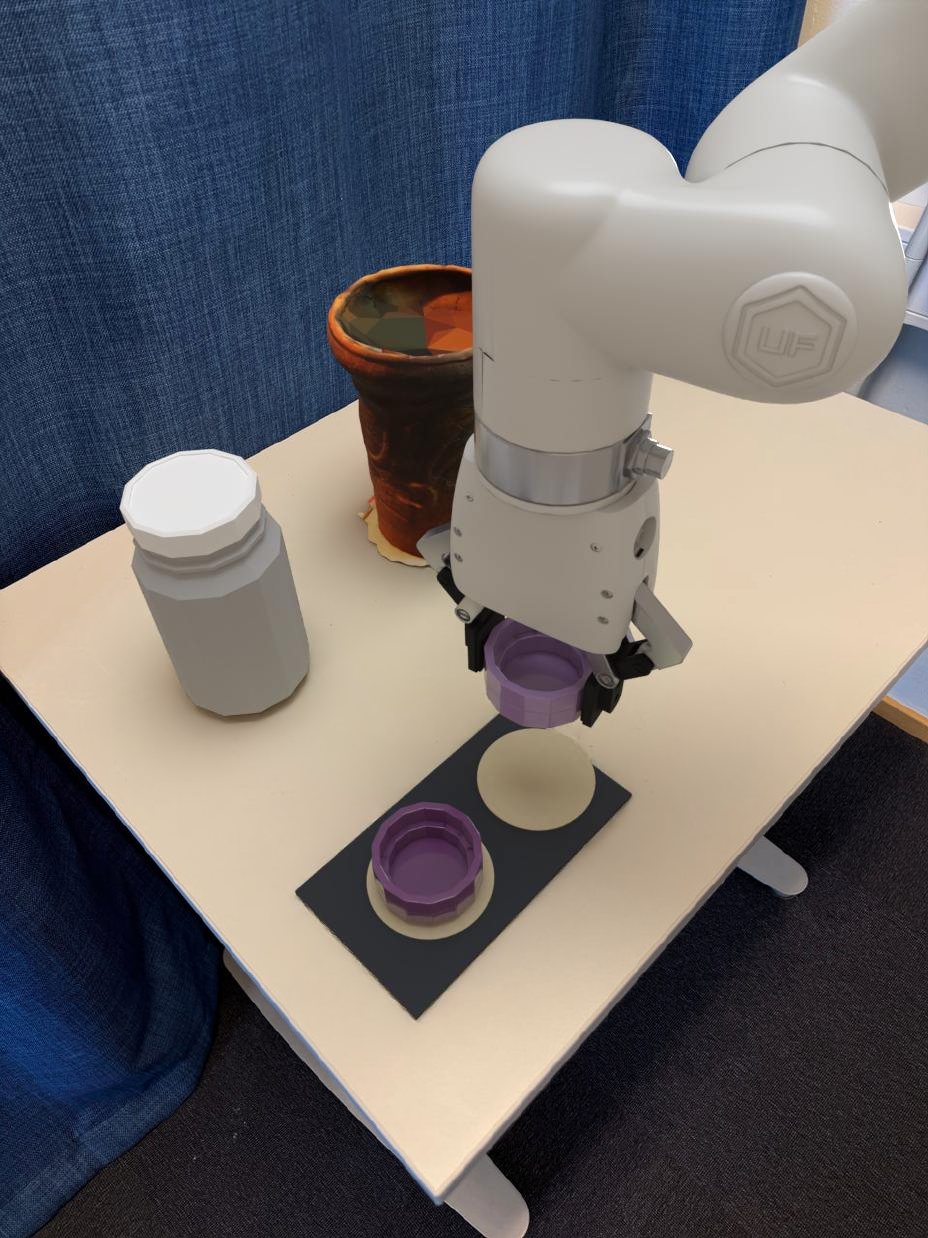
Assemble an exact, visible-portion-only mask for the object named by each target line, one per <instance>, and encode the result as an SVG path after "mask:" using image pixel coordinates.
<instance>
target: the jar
mask: <svg viewBox="0 0 928 1238" xmlns="http://www.w3.org/2000/svg"><path fill="white" fill-rule="evenodd" d="M261 489H262V488H261V486H260V481H259V476H258V474H257V472H256V471H255V470H254V469H253V468H252V467H251V465H249V463H247V461H246V460H245V459H244V458H243V457H242V456H239V455H237V454H233V453H229V452H225V451H222V450H219V449H215V448H207V449H194V450H183V451H177V452H175V453H172V454H169V455H167V456H165V457H162V458H160V459H157V460H155V461H153V462H150V463H147V464H146V465H145V466H144V467H143V468H141V470H139V471H138V472H137V473H136V474H135V475H134V476H133V477H132V478H131V479H130V480H129V481H128V482H127V483H126V484H125V485H124V488H123V491H122V496H121V501H120V505H119V510H120V512H121V516H122V517H123V520H124V522H125V525H126V527H127V529H128V531H129V532H130V534H131V535H132V537H133V538H132V543H133V546H134V550H133V556H132V559H131V560H132V561H131V564H130V567H131V569H132V572H133V574H134V577H135V579H136V581H137V584H138V587H139V589H140V590H141V593H142V595H143V598H144V600H145V602H146V604H147V608H148V609H149V611H150V614H151V617H152V619H153V621H154V623H155V626H156V629H157V631H158V634H159V636H160V638H161V640H162V643H163V645H164V648H165V650H166V652H167V655H168V657H169V660H170V662H171V665H172V667H173V669H174V671H175V674H176V676H177V679H178V680H179V683H180V684H181V686H182V688H183V689H184V690H185V692H186V694H187V695H188V697H189V698H190V700H191V702H192V703H193V705H195V706H196V707H197V706H198V707H200V708H202V709H205V710H208V711H211V712H212V713H215V714H218V715H220V716H223V717H224V716H225V717H226V716H228V717H229V716H238V715H240V716H241V715H249V714H260V713H262V712H264V711H266V710H267V709H269V708H271V707H273V706H275V705H277V704H278V703H280V702H282V701H284V700H286V699H287V698H289V697H290V696H291V695H292V694H293V693H294V691H295V690H296V688H297V687H298V686H299V684H300V683H301V682H302V680H303V679H304V677H305V676H306V675H307V673H308V672H309V666H310V665H309V663H310V662H309V661H310V660H309V659H310V658H309V656H310V643H309V639H308V635H307V631H306V626H305V622H304V617H303V614H302V610H301V605H300V602H299V601H300V600H299V597H298V592H297V588H296V585H295V581H294V576H293V572H292V568H291V563H290V559H289V555H288V550H287V546H286V543H285V538H284V534H283V530H282V526H281V525H280V524H279V522H278V521H276V519H275V518H274V517H273V516H272V514H271V513H270V512H269V511H268V510H267V507H266V506H265V505H264V503H263V502H262V499H263V494H262V490H261Z"/></svg>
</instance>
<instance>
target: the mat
mask: <svg viewBox="0 0 928 1238" xmlns="http://www.w3.org/2000/svg"><path fill="white" fill-rule="evenodd" d="M632 797H633V793H631V792H630V791H629V790H628V789H626V787H624V786H622V785H621V784H620V783H618V781H616V780H614V779H613V778H612V777H610V775H608V774H606V773H605V772H604V771H602V770H601V769H600V768H598V767H597V766H596V765H595V764H593V763H592V762H591V759H590V758H589V756H588V754H587V753H586V752H585V751H584V749H583V748H582V747H581V746H580V745H579V744H578V743H576V741H574V740H572V739H571V738H570V737H568V736H566V735H564V734H562V733H561V732H557V731H553V730H551V729H544V728H535V727H525V726H521V725H519V724H517V723H515V722H514V721H512V720H510V719H508V718H506V717H504V716H502V715H501V714H500V713H499V712H498V714H496V715H495V716H494V717H493V718H492V719H491V720H489V722H487V723H485V725H484V726H482V727H481V728H480V729H479V730H478V731H477V732H476V733H475V734H474V735H472V736H471V737H470V738H469V739H468V740H466V742H464V743H463V744H462V745H461V746H460V747H459V748H457V749H456V750H455V751H454V752H453V753H452V754H450V755H449V756H448V757H447V758H446V759H445V760H443V762H441V763H440V764H439V765H437V767H436V768H434V769H433V770H432V771H431V772H430V773H429V774H427V775H426V776H425V777H424V778H423V779H422V780H420V781H419V782H418V783H417V784H416V785H414V787H412V788H411V789H410V790H409V791H408V792H407V793H406V794H405V795H403V796H402V797H400V799H399V800H398V801H396V802H395V803H394V804H393V805H392V806H390V807H389V808H388V809H387V810H386V811H385V812H384V813H383V814H381V815H380V816H379V817H378V818H377V819H376V820H375V821H373V822H372V823H371V824H370V825H369V826H368V827H366V828H365V829H364V830H363V831H362V832H361V833H360V834H359V835H357V836H356V837H355V838H354V839H353V840H351V841H350V842H349V843H348V844H347V845H346V846H345V847H343V848H342V849H341V850H340V851H339V852H338V853H337V854H335V855H334V856H333V857H332V858H331V859H330V860H328V861H327V862H326V863H325V864H324V865H323V866H322V867H320V868H319V869H318V870H317V871H315V873H313V874H312V875H311V876H310V877H309V878H308V879H306V881H304V882H303V883H302V884H301V885H299V886H298V887H297V888H296V889H295V890H294V893H295V895H296V896H297V897H298V898H299V899H300V900H301V901H302V902H303V903H304V905H305V906H306V907H308V909H309V910H311V911H312V913H313V914H314V915H315V916H316V917H317V918H318V919H319V920H320V921H321V922H322V923H323V924H324V925H325V926H326V928H327V929H328V930H330V932H332V934H333V935H334V936H335V937H336V938H337V939H338V940H339V941H340V942H341V944H343V945H344V946H345V947H346V948H347V949H348V950H349V951H350V953H351V954H353V955H354V957H355V958H356V959H357V960H358V961H359V962H360V963H361V964H362V965H363V966H364V968H366V970H368V971H369V972H370V973H371V974H372V976H373V977H374V978H375V979H376V980H377V981H378V982H379V983H380V984H381V985H382V986H383V987H384V988H385V989H386V991H388V992H389V993H390V994H391V995H392V996H393V997H394V998H395V1000H396V1001H397V1002H398V1003H399V1004H400V1005H401V1006H402V1007H403V1008H404V1009H405V1010H406V1011H407V1012H408V1013H409V1015H411V1016H412V1017H413V1019H415V1021H416V1020H418V1019H419V1018H420V1017H421V1016H422V1015H423V1014H424V1013H425V1012H426V1011H427V1010H428V1009H429V1008H430V1007H431V1006H432V1005H433V1003H435V1002H436V1001H437V1000H438V998H439V997H440V996H442V994H443V993H444V992H445V991H447V989H448V988H449V987H450V986H451V985H452V984H453V983H454V982H455V981H456V980H457V979H458V978H459V977H460V976H461V975H462V973H463V972H464V971H465V970H466V969H468V967H470V965H471V964H472V963H473V962H474V961H475V960H476V959H477V958H478V957H479V956H480V955H481V954H482V953H483V952H484V951H485V950H486V949H487V947H489V946H490V945H491V943H492V942H494V941H495V939H497V937H498V936H499V935H500V934H501V933H502V932H503V931H504V930H505V929H506V928H507V927H508V926H509V925H510V924H511V923H512V922H513V921H514V920H515V919H516V918H517V917H518V916H519V915H520V914H521V912H523V910H524V909H525V908H526V907H527V906H528V905H529V904H530V903H531V902H532V901H533V900H534V899H535V898H536V897H537V896H538V895H539V894H540V893H541V892H542V891H543V889H544V888H546V886H548V885H549V883H551V881H552V880H553V879H554V878H555V877H556V876H557V875H558V874H559V873H560V872H561V871H562V870H563V869H564V868H565V867H566V866H567V865H568V864H569V862H571V861H572V860H573V858H575V856H576V855H578V854H579V852H580V851H581V850H582V849H583V848H584V847H585V846H586V845H587V844H588V843H589V842H590V841H591V840H592V839H593V838H594V837H595V836H596V835H597V834H598V833H599V832H600V831H601V829H602V828H603V827H605V826H606V824H607V823H608V822H609V821H610V820H611V819H612V818H613V817H614V816H615V815H616V814H617V813H618V812H619V811H620V810H621V809H622V808H623V807H624V806H625V805H626V804H627V803H628V802H629V800H630V799H631V798H632ZM421 802H432V803H441V804H447V805H450V806H451V807H453V808H455V809H457V810H458V811H460V812H462V813H464V814H465V815H467V816H468V817H469V819H470V820H471V822H472V823H473V824H474V826H475V827H476V829H477V830H478V832H479V833H480V836H481V844H482V854H483V881H482V883H481V886H480V889H479V891H478V894H477V896H476V899H475V900H474V902H473V903H472V904H471V905H469V906H468V907H467V908H466V909H465V910H464V911H463V912H462V913H461V914H460V915H459V916H457V917H456V918H453V919H450V920H447V921H444V922H440V923H437V924H434V925H433V924H432V925H430V924H422V923H414V922H408V921H406V920H404V919H403V918H401V917H400V916H398V915H397V914H395V913H394V912H392V911H391V910H389V909H388V908H387V906H386V904H385V903H384V901H383V899H382V897H381V895H380V894H379V892H378V890H377V887H376V882H375V877H374V873H373V869H372V843H373V841H374V839H375V837H376V835H377V833H378V831H379V829H380V826H381V824H382V823H383V822H384V821H386V820H387V819H388V818H389V817H391V816H392V815H393V814H394V813H395V812H397V811H398V810H399V809H401V808H404V807H407V806H410V805H414V804H417V803H421Z"/></svg>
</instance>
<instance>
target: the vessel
mask: <svg viewBox="0 0 928 1238" xmlns="http://www.w3.org/2000/svg"><path fill="white" fill-rule="evenodd" d="M327 318H328V319H327V326H326V336H327V341H328V344H329V348H330V350H331V353H332V355H333V357H334V359H335V360H336V361H337V363H338V364H339V366H340V367H342V369H344V370H345V372H346V373H347V374H349V375H350V379H351V381H352V384H353V387H354V388H355V390H356V391H357V394H358V420H359V423H360V430H361V435H362V440H363V444H364V447H365V451H366V457H367V463H368V464H367V465H368V471H369V477H370V481H371V483H372V487H373V488H372V489H373V495H372V496H371V497H370V498H369V499H368V501H367V504H369V505H370V506H369V508H368V509H367V510H366V511H365V512H361V511H358V513H357V516H359V517H360V518H361V519H362V521H364V522H365V523H366V524H367V540H368V541H369V542H371V543H374V544H375V545H376V550H377V551H378V552H379V555H381V556H383V557H384V558H387V560H389V561H390V562H401V563H403V564H406V565H407V566H417V567H425V566H430V565H429V564H428V562H427V561H426V560H425V558H424V557H423V556H422V554H421V553H420V552H419V550H418V549H417V546H416V544H417V542H418V541H419V540H420V539H421V538H422V537H423V536H424V535H425V533H426V532H427V531H428V530H430V529H431V528H434V527H437V526H440V525H442V524H445V523H448V522H450V521H451V518H452V508H453V500H454V494H455V487H456V482H457V477H458V473H459V469H460V464H461V460H462V457H463V453H464V450H465V446H466V444H467V441H468V440H469V438H470V437H471V435H472V434H473V433H474V399H473V313H472V268H469V267H463V266H459V265H454V264H430V263H422V264H410V265H400V266H394V267H390V268H385V269H384V268H383V269H381V270H380V271H377V272H376V273H373V274H366V275H365V276H363V277H360V278H359V279H358V280H356V281H355V282H353V284H351V285H350V286H349V287H348V288H346V290H344V291H343V292H341V293H340V294H338V295H337V296H336V297H335V298H334V301H333V302H332V304H331V307H330V309H329V310H328V316H327Z"/></svg>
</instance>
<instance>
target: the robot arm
mask: <svg viewBox="0 0 928 1238" xmlns="http://www.w3.org/2000/svg"><path fill="white" fill-rule="evenodd" d="M927 183H928V0H862V1H861V2H859V3H858V4H856V5H855V6H853V7H852V8H850V9H849V10H848V11H846V12H845V13H844V14H842V15H841V16H840V17H838V18H837V19H836V20H834V21H833V22H832V23H830V24H829V25H827V26H826V27H825V28H823V29H822V30H821V31H819V32H818V33H817V34H815V35H814V36H813V37H811V38H809V40H807V41H806V42H804V43H803V44H802V45H800V46H799V47H798V48H796V49H795V50H793V51H792V52H791V53H789V54H787V56H785V57H784V58H783V59H781V60H779V62H777V63H776V64H775V65H773V66H772V67H770V68H769V69H768V70H766V71H765V72H764V73H762V74H761V75H760V76H758V77H757V78H756V79H755V80H754V81H752V82H751V83H749V85H747V86H746V87H745V88H744V89H743V90H742V91H740V93H738V94H737V95H736V96H735V97H734V98H733V99H732V100H731V101H730V102H729V103H728V104H727V105H726V106H725V107H724V108H723V109H722V110H721V112H719V114H718V115H717V116H716V117H715V119H714V120H713V121H712V122H711V123H710V125H709V126H708V127H707V129H705V131H704V133H703V134H702V136H701V138H700V139H699V141H698V143H697V145H696V146H695V148H694V149H693V152H692V153H691V157H690V159H689V162H688V164H687V167H686V171H685V174H684V177H683V176H682V175H681V173H680V170H679V167H678V165H677V162H676V161H675V159H674V157H673V155H672V153H671V152H670V151H669V150H668V148H667V147H666V146H665V145H663V143H661V142H660V141H659V140H658V139H656V137H654V136H653V135H651V134H649V133H647V132H645V131H643V130H641V129H638V128H634V127H633V126H629V125H626V124H621V123H618V122H612V121H606V120H601V119H590V118H563V119H553V120H547V121H546V120H545V121H539V122H534V123H532V124H528V125H524V126H521V127H518V128H515V129H514V130H512V131H510V132H507V133H505V134H504V135H502V136H501V137H500V138H498V139H497V140H496V141H495V142H493V143H492V144H491V145H490V146H489V147H488V148H487V149H486V151H485V152H484V153H483V154H482V156H481V158H480V160H479V161H478V164H477V167H476V170H475V172H474V175H473V180H472V184H471V197H470V198H471V199H470V235H471V237H470V238H471V240H470V241H471V245H470V246H471V269H472V313H473V399H474V433H473V434H472V435H471V437H470V438H469V440H468V441H467V444H466V446H465V450H464V453H463V457H462V460H461V464H460V469H459V473H458V477H457V482H456V487H455V494H454V500H453V508H452V518H451V521H450V522H448V523H445V524H442V525H440V526H437V527H434V528H431V529H430V530H428V531H427V532H426V533H425V535H424V536H423V537H422V538H421V539H420V540H419V541H418V542H417V544H416V546H417V549H418V550H419V552H420V553H421V554H422V556H423V557H424V558H425V560H426V561H427V562H428V564H429V565H428V564H427V565H428V566H429V567H430V568H431V569H432V570H433V571H436V572H437V574H436V580H437V582H438V583H439V585H440V586H441V588H442V589H443V590H444V591H445V592H446V593H447V595H448V596H449V597H450V598H451V600H452V601H453V602H454V604H456V607H455V608H454V615H455V616H456V618H457V619H458V620H460V622H461V623H464V645H465V646H466V647H467V669H468V670H470V671H471V672H473V673H475V674H477V673H481V672H483V671H484V645H485V643H486V641H487V639H488V637H489V635H490V633H491V631H492V629H493V627H495V626H496V625H497V624H499V623H500V622H501V621H503V620H504V619H505V618H507V617H509V618H511V619H513V620H515V621H517V622H520V623H522V624H524V625H526V626H528V627H531V628H533V629H535V630H537V631H540V632H542V633H544V634H546V635H549V636H551V637H553V638H555V639H558V640H560V641H562V642H565V643H567V644H569V645H572V646H574V647H577V648H579V649H582V650H583V651H584V653H585V655H586V657H587V660H588V662H589V664H590V667H591V669H592V672H591V674H590V675H589V677H588V678H587V680H586V682H585V686H584V693H583V701H582V709H581V716H580V717H579V721H580V722H581V723H582V725H583V726H585V727H587V728H589V729H592V727H593V726H594V725H595V724H596V721H597V720H598V719H599V717H600V716H601V714H602V712H604V713H607V714H609V715H611V714H612V713H613V712H614V710H615V708H616V707H617V706H618V703H619V702H620V699H621V697H622V694H623V691H624V685H625V684H624V683H625V681H627V680H633V679H637V678H643V677H647V676H649V675H650V674H651V673H652V672H653V671H655V670H658V671H661V670H664V669H667V668H672V667H675V666H678V665H680V664H681V665H682V664H683V662H684V661H685V659H686V658H687V656H688V654H689V653H690V651H691V650H692V648H693V646H694V644H693V640H692V639H691V637H690V636H689V635H688V634H687V633H686V631H685V630H684V629H683V628H682V627H681V626H680V624H679V623H678V621H676V619H675V618H674V617H673V616H672V614H671V613H670V612H669V611H668V610H667V608H666V607H665V606H664V605H663V604H662V602H661V601H660V600H659V599H658V597H657V596H656V595H655V593H654V592H655V588H656V582H657V581H656V580H657V575H658V563H659V555H660V554H659V552H660V538H661V537H660V536H661V500H660V485H659V480H661V481H662V480H664V478H666V476H667V475H668V473H669V471H670V468H671V466H672V463H673V459H674V455H675V451H674V449H672V448H669V447H667V446H664V445H661V444H660V442H659V441H658V440H656V439H653V435H652V430H651V426H652V419H653V413H651V412H649V406H650V403H651V402H650V401H651V396H652V395H651V394H652V389H653V382H654V377H655V376H654V375H655V374H656V375H659V376H662V377H666V378H669V379H673V380H676V381H679V382H682V383H684V384H688V385H692V386H695V387H697V388H701V389H704V390H707V391H711V392H714V393H716V394H720V395H724V396H728V397H731V398H734V399H739V400H745V401H749V402H754V403H761V404H768V405H769V404H770V405H801V404H806V403H813V402H817V401H822V400H825V399H829V398H832V397H834V396H837V395H839V394H841V393H843V392H845V391H847V390H849V389H851V388H853V387H854V386H856V385H857V384H859V383H861V382H862V381H864V380H865V379H866V378H867V377H868V376H869V375H870V374H872V373H874V371H875V370H876V369H877V368H878V367H879V366H880V364H882V362H883V361H884V360H885V359H886V358H887V356H888V354H889V353H890V352H891V350H892V348H893V347H894V345H895V343H896V342H897V341H898V338H899V335H900V333H901V331H902V328H903V324H904V321H905V318H906V314H907V308H908V303H909V273H908V267H907V266H908V265H907V259H906V255H905V251H904V246H903V242H902V239H901V236H900V232H899V229H898V224H897V221H896V218H895V211H894V207H893V203H895V202H897V201H899V200H900V199H902V198H904V197H905V196H907V195H909V194H910V193H912V192H914V191H915V190H917V189H918V188H920V187H922V186H924V185H926V184H927ZM631 623H632V624H633V626H635V628H636V629H637V630H638V631H639V632H640V634H641V635H642V636H643V637H644V638H642V639H639V640H635V638H634V636H633V633H632V630H631V628H630V625H631Z"/></svg>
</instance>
